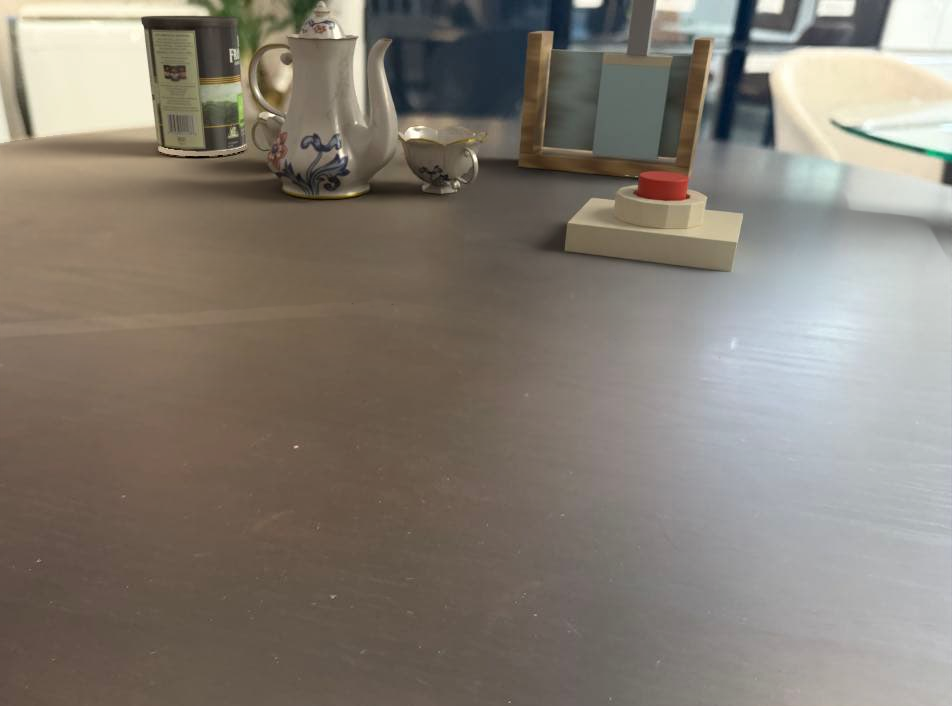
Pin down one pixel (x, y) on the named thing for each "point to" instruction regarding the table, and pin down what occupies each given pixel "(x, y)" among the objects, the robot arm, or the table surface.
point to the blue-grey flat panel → (633, 93)
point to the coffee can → (195, 82)
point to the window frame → (575, 109)
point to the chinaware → (348, 122)
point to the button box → (656, 230)
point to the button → (662, 186)
